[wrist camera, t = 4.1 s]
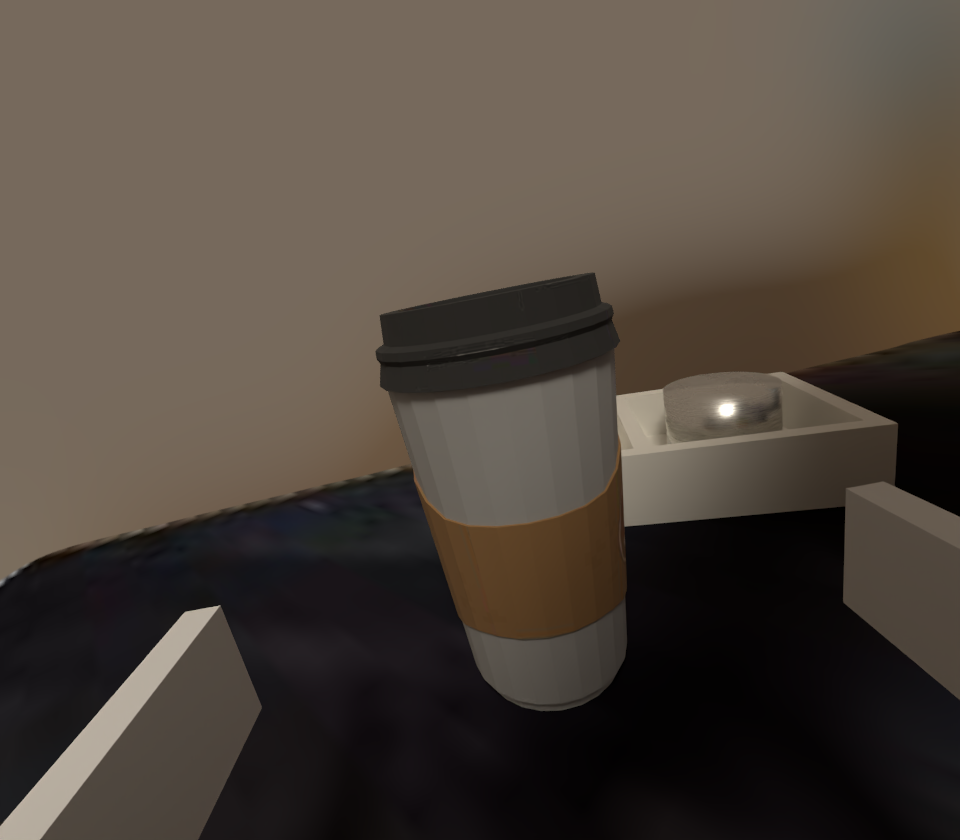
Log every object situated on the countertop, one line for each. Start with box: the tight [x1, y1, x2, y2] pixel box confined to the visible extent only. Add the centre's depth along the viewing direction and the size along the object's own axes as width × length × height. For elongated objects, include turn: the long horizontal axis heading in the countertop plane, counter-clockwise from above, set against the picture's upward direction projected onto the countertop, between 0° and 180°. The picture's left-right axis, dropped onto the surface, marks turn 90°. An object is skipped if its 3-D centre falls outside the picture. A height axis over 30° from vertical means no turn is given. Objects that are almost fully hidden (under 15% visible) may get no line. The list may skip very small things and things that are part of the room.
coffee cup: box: [376, 273, 627, 711], centre depth 18 cm, size 8×8×15 cm
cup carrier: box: [616, 372, 898, 527], centre depth 33 cm, size 25×13×4 cm, turn 82°
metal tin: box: [663, 372, 783, 444], centre depth 32 cm, size 7×7×5 cm
